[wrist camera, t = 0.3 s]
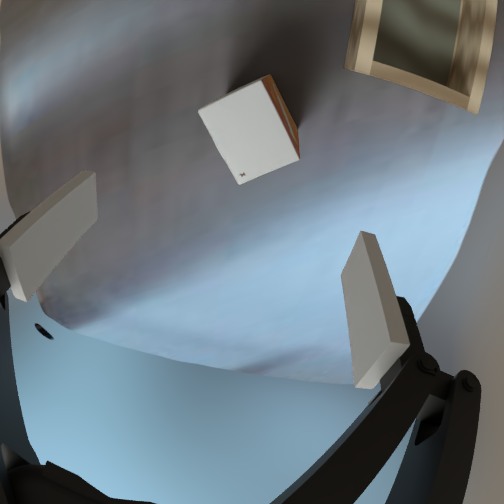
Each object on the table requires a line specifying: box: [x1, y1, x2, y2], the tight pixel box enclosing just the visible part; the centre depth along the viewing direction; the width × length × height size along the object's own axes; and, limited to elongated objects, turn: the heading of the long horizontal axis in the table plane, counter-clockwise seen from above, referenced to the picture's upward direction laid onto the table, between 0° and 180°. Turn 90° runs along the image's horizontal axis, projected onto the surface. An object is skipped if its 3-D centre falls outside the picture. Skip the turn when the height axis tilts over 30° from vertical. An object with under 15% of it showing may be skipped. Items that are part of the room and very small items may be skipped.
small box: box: [198, 74, 300, 185], centre depth 32 cm, size 8×6×13 cm
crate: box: [344, 0, 498, 115], centre depth 23 cm, size 23×15×7 cm, turn 172°
